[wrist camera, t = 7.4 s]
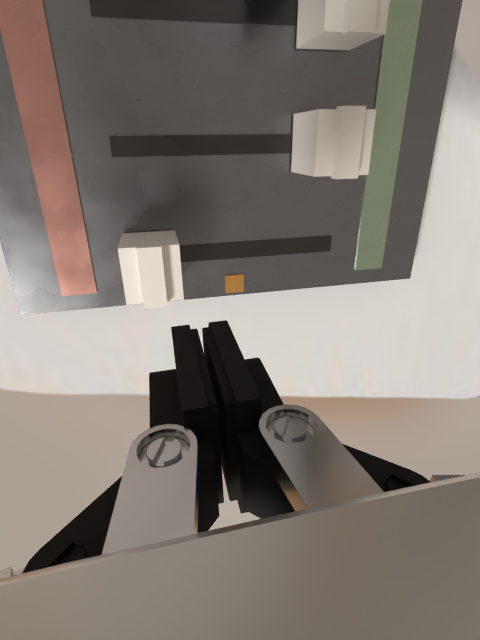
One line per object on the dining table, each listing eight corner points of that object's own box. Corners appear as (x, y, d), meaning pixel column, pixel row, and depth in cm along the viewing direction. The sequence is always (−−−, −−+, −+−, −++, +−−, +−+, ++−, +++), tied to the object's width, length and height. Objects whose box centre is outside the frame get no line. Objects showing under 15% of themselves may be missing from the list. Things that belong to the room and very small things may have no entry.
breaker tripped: (121, 231, 22) (116, 249, 18) (174, 228, 22) (180, 245, 19) (129, 284, 23) (126, 311, 19) (179, 280, 24) (184, 305, 20)
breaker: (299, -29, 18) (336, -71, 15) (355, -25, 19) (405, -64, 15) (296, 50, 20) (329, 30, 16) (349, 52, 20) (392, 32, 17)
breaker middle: (293, 111, 21) (324, 105, 17) (343, 111, 22) (383, 105, 18) (291, 173, 22) (318, 179, 19) (338, 172, 23) (374, 177, 19)
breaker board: (-73, -77, 17) (-101, -105, 15) (445, -34, 22) (473, -51, 20) (30, 302, 24) (20, 315, 22) (394, 270, 29) (410, 278, 27)
